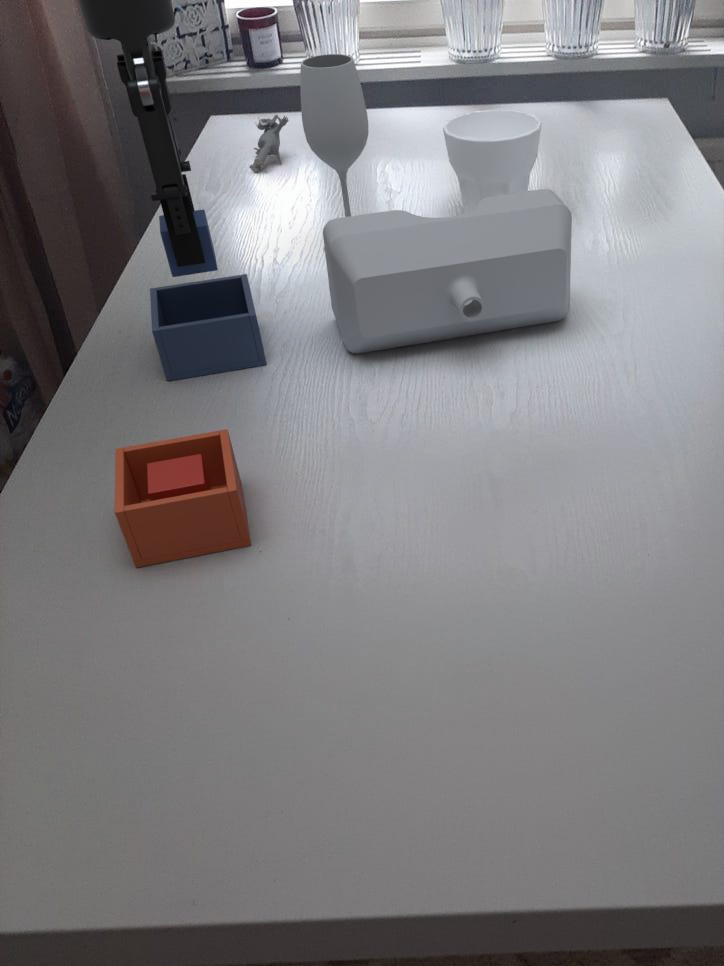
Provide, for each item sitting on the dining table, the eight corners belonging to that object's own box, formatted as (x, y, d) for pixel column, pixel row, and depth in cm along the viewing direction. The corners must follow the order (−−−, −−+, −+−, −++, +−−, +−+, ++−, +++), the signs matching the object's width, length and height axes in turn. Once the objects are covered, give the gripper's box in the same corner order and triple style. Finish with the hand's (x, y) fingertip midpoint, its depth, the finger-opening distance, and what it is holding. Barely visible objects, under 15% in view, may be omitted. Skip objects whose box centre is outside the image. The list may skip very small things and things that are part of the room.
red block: (163, 537, 80) (147, 493, 77) (161, 507, 83) (146, 463, 80) (217, 527, 81) (204, 482, 78) (213, 497, 84) (201, 453, 81)
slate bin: (166, 381, 100) (151, 330, 97) (163, 337, 108) (149, 288, 104) (266, 364, 102) (256, 314, 98) (257, 322, 109) (246, 273, 106)
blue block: (172, 277, 96) (159, 232, 93) (171, 260, 100) (158, 215, 96) (217, 270, 97) (206, 225, 94) (215, 253, 100) (204, 208, 97)
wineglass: (384, 234, 126) (364, 50, 111) (379, 258, 120) (356, 68, 106) (327, 236, 126) (299, 53, 112) (318, 261, 121) (288, 71, 106)
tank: (356, 387, 98) (338, 265, 89) (333, 318, 109) (315, 204, 101) (590, 347, 102) (594, 227, 93) (544, 285, 113) (545, 172, 104)
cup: (493, 190, 136) (490, 103, 128) (560, 210, 129) (562, 120, 121) (429, 217, 129) (422, 127, 122) (496, 240, 123) (493, 147, 115)
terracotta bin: (135, 568, 79) (114, 512, 75) (134, 502, 85) (115, 448, 81) (251, 545, 80) (236, 489, 76) (241, 483, 87) (227, 428, 83)
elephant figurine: (225, 171, 146) (246, 131, 150) (259, 198, 149) (279, 157, 153) (254, 134, 139) (275, 92, 142) (289, 162, 142) (309, 120, 145)
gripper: (167, -8, 76) (234, 282, 92) (161, -46, 88) (221, 216, 104) (69, 3, 74) (154, 295, 91) (76, -37, 87) (150, 227, 103)
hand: (189, 252), depth 97 cm, fingers closed on blue block, 4 cm apart
